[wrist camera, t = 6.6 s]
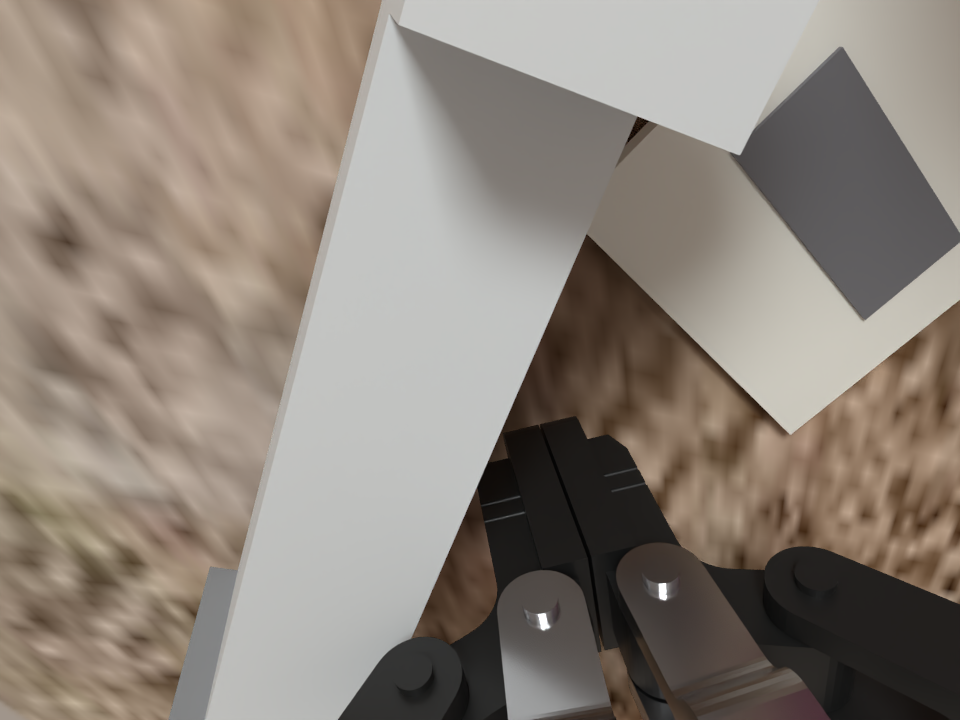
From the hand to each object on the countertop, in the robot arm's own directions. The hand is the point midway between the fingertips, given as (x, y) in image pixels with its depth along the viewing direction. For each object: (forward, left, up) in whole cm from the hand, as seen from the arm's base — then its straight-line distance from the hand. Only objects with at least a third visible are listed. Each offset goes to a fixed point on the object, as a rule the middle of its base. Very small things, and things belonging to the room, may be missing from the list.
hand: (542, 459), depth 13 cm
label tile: (-1, -8, -2) cm, 8 cm away
